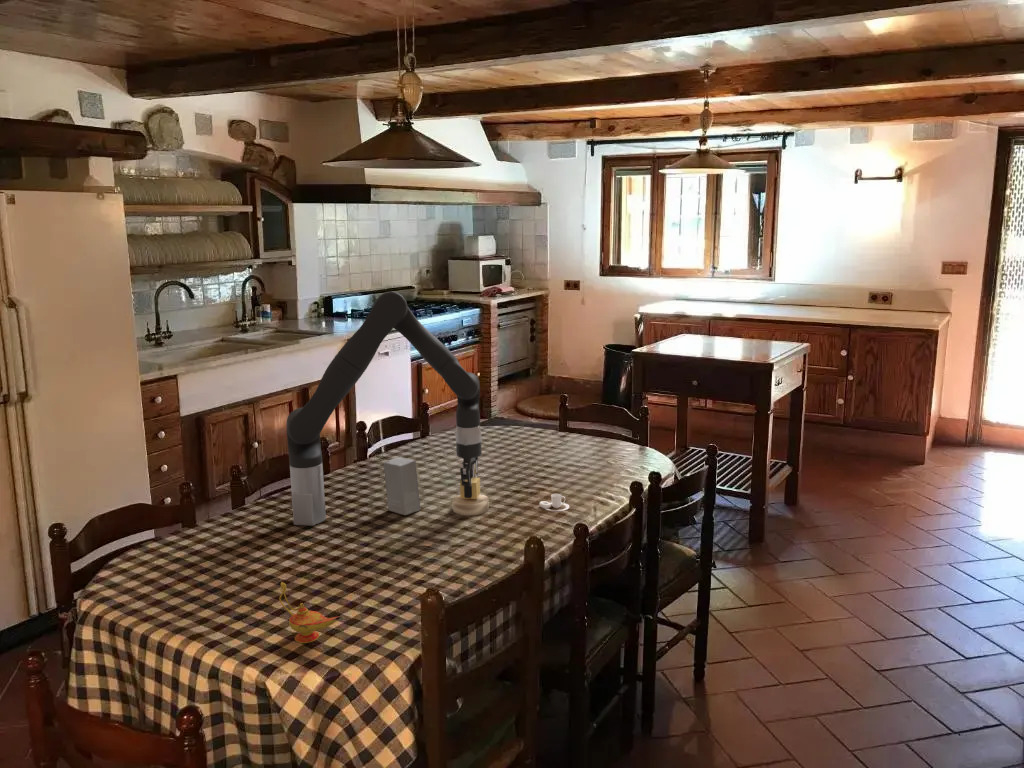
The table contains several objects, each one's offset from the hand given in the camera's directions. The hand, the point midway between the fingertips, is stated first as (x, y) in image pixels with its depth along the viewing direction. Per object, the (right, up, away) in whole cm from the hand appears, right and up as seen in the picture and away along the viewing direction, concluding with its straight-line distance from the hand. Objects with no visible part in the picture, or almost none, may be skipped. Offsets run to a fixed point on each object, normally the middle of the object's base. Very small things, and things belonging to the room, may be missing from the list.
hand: (470, 494), depth 247 cm
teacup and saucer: (+25, -4, +4) cm, 25 cm away
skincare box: (-20, -5, 0) cm, 21 cm away
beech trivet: (0, -5, +1) cm, 5 cm away
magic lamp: (-29, -21, -75) cm, 83 cm away
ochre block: (0, 0, 0) cm, 0 cm away
